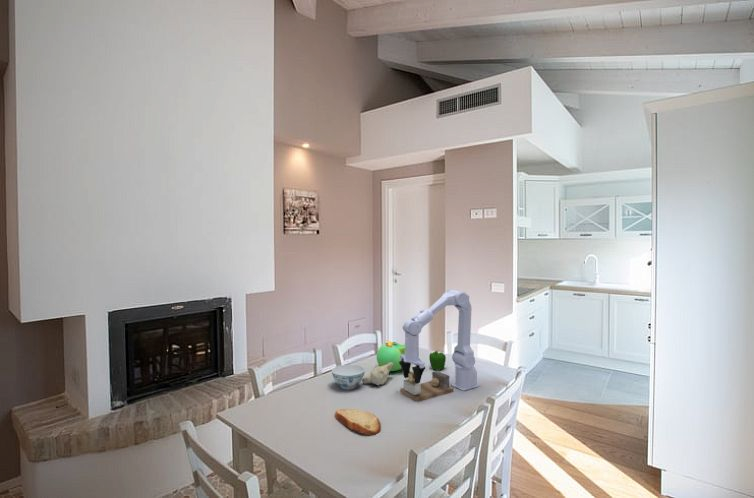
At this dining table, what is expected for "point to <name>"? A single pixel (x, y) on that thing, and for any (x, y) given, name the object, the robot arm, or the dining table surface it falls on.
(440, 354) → the bell pepper
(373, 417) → the bread slice
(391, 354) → the toy bird
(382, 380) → the ginger root
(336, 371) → the chinaware
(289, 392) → the dining table surface
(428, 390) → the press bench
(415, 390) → the jaw
